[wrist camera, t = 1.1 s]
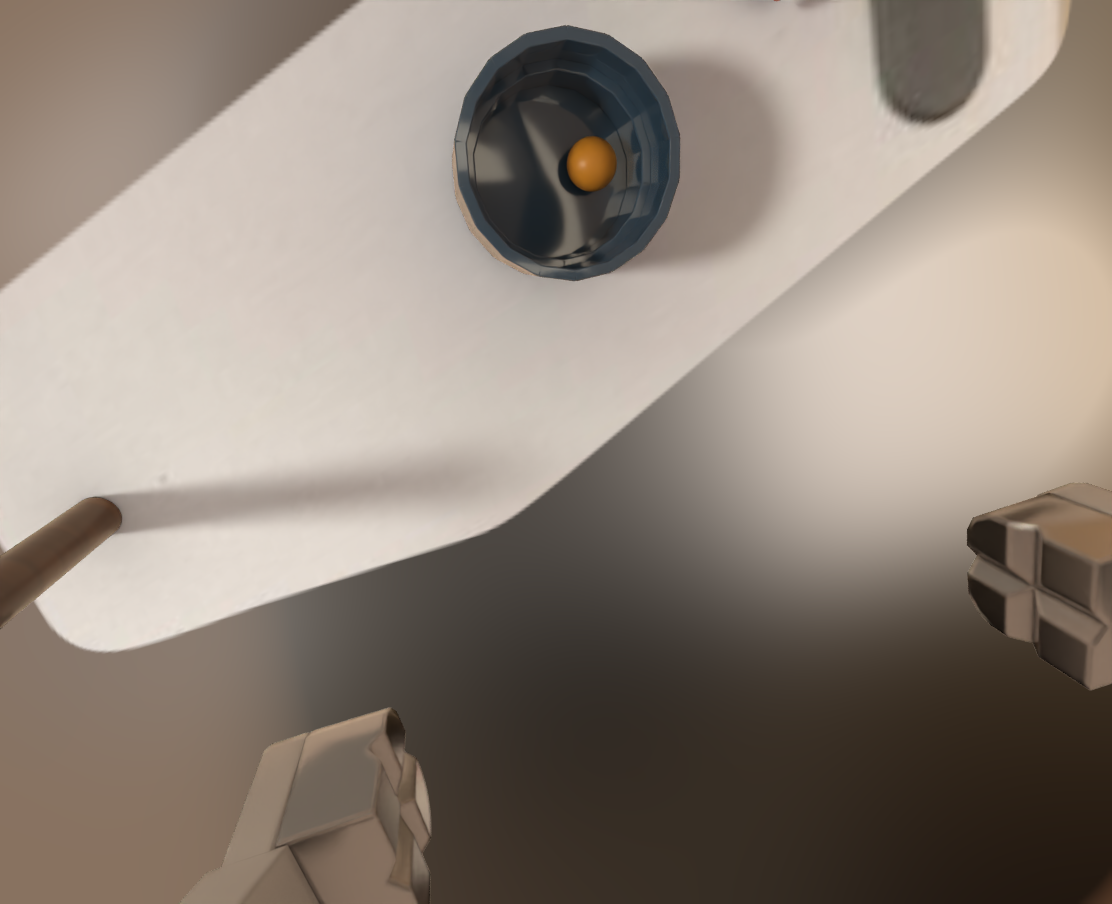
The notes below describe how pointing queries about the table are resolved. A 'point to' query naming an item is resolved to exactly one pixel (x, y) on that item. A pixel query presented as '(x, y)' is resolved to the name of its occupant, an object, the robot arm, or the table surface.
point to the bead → (591, 163)
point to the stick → (53, 553)
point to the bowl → (564, 154)
